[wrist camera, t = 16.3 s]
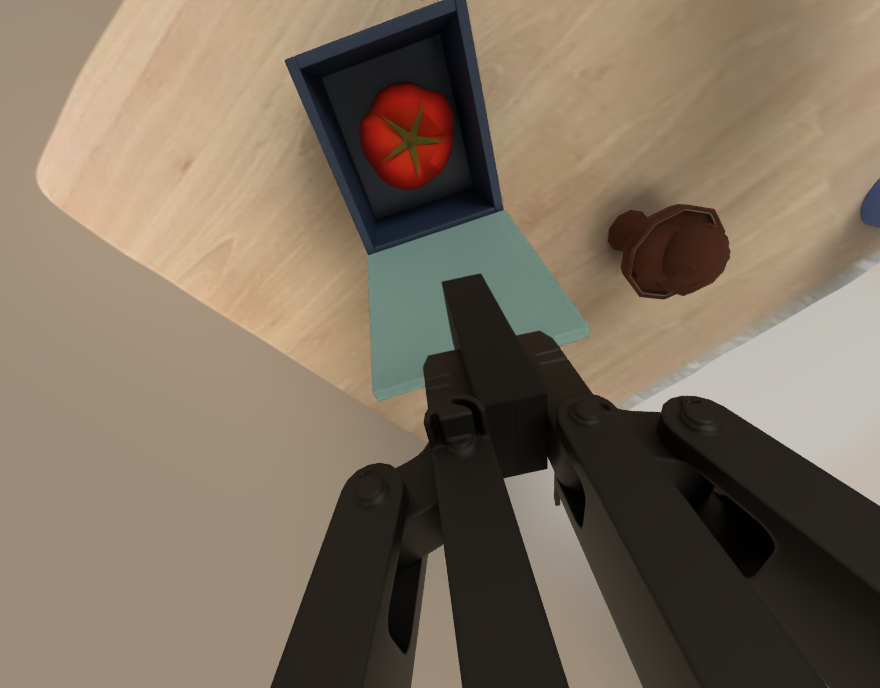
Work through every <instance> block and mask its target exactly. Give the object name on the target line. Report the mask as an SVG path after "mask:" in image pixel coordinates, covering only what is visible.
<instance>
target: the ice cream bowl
mask: <svg viewBox="0 0 880 688" xmlns="http://www.w3.org/2000/svg"><path fill="white" fill-rule="evenodd" d="M608 242H609V243H610V245H611V246H612V248H613V249H614V250H620V251H623V256H622V263H621V270H622V274H623V275H624V276H625V278H626V279H627V280H628V282H629V283H630V285H631V286H632V287H633V289H634V290H635V291H636V293H637V294H638V295H639V297H645V298H655V299H666V298H669V297H671V296H673V295H675V294H678V295H682V296H684V295H687V294H690V293H693V292H695V291H697V290H699V289H701V288H703V287H705V286H707V285H709V284H711V283H713V282H714V281H715V280H716V279H717V278H718V277H719V276H720V275H721V273H722V272H723V271H724V269H725V266H726V264H727V261H728V260H729V259H730V249H729V247H728V246H729V241H728V237H727V236H726V235H725V230H724V228H723V226H722V224H721V221H720V219H719V217H718V215H717V213H716V211H715V209H711V208H705V207H699V206H692V205H684V204H676V205H673V206H669V207H667V208H665V209H663V210H661V211H659V212H657V213H655V214H653V215H651V216H649V217H647V218H646V216H645V214H644V213H643V212H641V211H634V210H630V211H628V212H626V213H624V214H622V215H620V216H618V218H617V219H616V220H615V222H614V223H613V225H612V226H611V227H610V229H609V237H608Z"/></svg>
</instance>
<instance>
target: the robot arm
mask: <svg viewBox="0 0 880 688" xmlns="http://www.w3.org/2000/svg"><path fill="white" fill-rule="evenodd" d="M441 283H442V288H443V293H444V299H445V304H446V309H447V315H448V320H449V325H450V331H451V336H452V341H453V345H454V349H455V350H451V351H447V352H442V353H437V354H433V355H428V356H427V359H426V361H425V363H424V365H423V373H424V380H425V388H426V396H427V403H428V410H427V411H426V413H425V417H424V426H425V429H426V433H427V436H428V439H429V442H428V444H427V446H426V447H425V449H424V450H423V451H422V452H421V453H420V454H419V455H418V456H416V457H415V458H413V459H412V460H410V461H408V462H407V463H405V464H403V465H401V466H399V467H397V468H394V467H393V466H391V465H388V464H383V463H376V464H371V465H367V466H366V467H364V468H362V469H360V470H358V471H356V473H354V474H353V475H352V476H351V477H350V478H349V479H348V480H347V482H346V484H345V486H344V487H343V489H342V491H341V494H340V497H339V499H338V502H337V505H336V508H335V510H334V513H333V516H332V519H331V521H330V524H329V527H328V530H327V533H326V535H325V539H324V541H323V544H322V546H321V549H320V552H319V555H318V557H317V560H316V563H315V566H314V568H313V571H312V574H311V577H310V579H309V582H308V585H307V588H306V591H305V593H304V596H303V599H302V602H301V604H300V607H299V610H298V613H297V615H296V618H295V621H294V624H293V626H292V630H291V632H290V635H289V638H288V641H287V643H286V646H285V649H284V651H283V654H282V657H281V660H280V662H279V666H278V668H277V671H276V673H275V676H274V680H273V682H272V685H271V687H270V688H411V681H412V674H413V667H414V659H415V651H416V643H417V636H418V627H419V620H420V612H421V605H422V596H423V589H424V581H425V574H426V565H427V558H428V554H429V553H430V552H432V551H434V550H435V549H437V548H438V547H440V546H442V545H443V544H444V551H445V558H446V566H447V574H448V581H449V588H450V596H451V604H452V612H453V619H454V627H455V635H456V642H457V650H458V658H459V665H460V673H461V681H462V688H569V686H568V683H567V679H566V676H565V673H564V670H563V667H562V664H561V660H560V657H559V654H558V651H557V648H556V644H555V641H554V638H553V635H552V632H551V629H550V626H549V622H548V619H547V616H546V613H545V610H544V607H543V603H542V600H541V597H540V594H539V590H538V587H537V584H536V581H535V578H534V574H533V572H532V568H531V565H530V562H529V559H528V555H527V552H526V549H525V546H524V543H523V539H522V536H521V533H520V530H519V527H518V524H517V520H516V517H515V514H514V511H513V508H512V504H511V502H510V498H509V495H508V492H507V489H506V486H505V482H504V479H503V478H507V477H511V476H516V475H521V474H525V473H530V472H535V471H539V470H544V469H547V456H548V459H549V460H550V463H551V465H552V467H553V469H554V472H555V475H554V500H555V505H556V506H559V505H560V499H561V501H562V503H563V506H564V508H565V510H566V513H567V515H568V517H569V519H570V522H571V524H572V526H573V528H574V531H575V533H576V535H577V538H578V540H579V542H580V545H581V547H582V549H583V551H584V554H585V556H586V558H587V561H588V563H589V565H590V567H591V570H592V572H593V574H594V577H595V579H596V581H597V583H598V586H599V588H600V590H601V592H602V595H603V597H604V600H605V602H606V604H607V606H608V609H609V611H610V613H611V615H612V618H613V620H614V622H615V625H616V627H617V629H618V632H619V634H620V636H621V638H622V641H623V643H624V645H625V648H626V650H627V652H628V654H629V657H630V659H631V661H632V664H633V666H634V668H635V670H636V673H637V675H638V677H639V680H640V682H641V684H642V686H643V688H828V687H829V688H880V506H879V505H877V504H876V503H874V502H872V501H871V500H869V499H868V498H866V497H865V496H863V495H862V494H860V493H859V492H857V491H855V490H854V489H852V488H851V487H849V486H848V485H846V484H844V483H843V482H841V481H839V480H838V479H837V478H835V477H833V476H832V475H830V474H829V473H827V472H826V471H824V470H822V469H821V468H819V467H818V466H816V465H815V464H813V463H811V462H810V461H808V460H807V459H805V458H803V457H802V456H801V455H799V454H797V453H796V452H794V451H793V450H791V449H790V448H788V447H786V446H785V445H783V444H782V443H780V442H779V441H777V440H775V439H774V438H772V437H771V436H769V435H767V434H766V433H764V432H763V431H761V430H760V429H758V428H757V427H755V426H753V425H752V424H750V423H748V422H747V421H746V420H744V419H742V418H741V417H739V416H738V415H736V414H735V413H733V412H732V411H730V410H728V409H727V408H725V407H724V406H722V405H720V404H717V403H715V402H713V401H711V400H709V399H705V398H701V397H697V396H679V397H675V398H671V399H670V400H668V401H667V402H666V403H665V404H663V407H662V411H661V412H642V411H628V410H621V409H618V408H616V407H615V406H614V405H613V404H612V403H611V402H610V401H609V400H607V399H605V398H602V397H600V396H598V395H593V393H592V392H591V391H590V390H589V388H588V387H587V385H586V384H585V382H584V381H583V380H582V378H581V377H580V375H579V374H578V373H577V371H576V370H575V368H574V367H573V366H572V364H571V363H570V361H569V360H567V357H566V356H565V354H564V353H563V352H562V351H561V349H560V347H559V346H558V345H557V343H556V342H555V340H554V339H553V338H552V337H550V336H549V335H547V334H545V333H543V332H542V331H540V330H539V331H534V332H530V333H525V334H520V335H515V333H514V331H513V329H512V327H511V326H510V324H509V322H508V320H507V319H506V317H505V315H504V313H503V311H502V310H501V308H500V306H499V304H498V302H497V301H496V299H495V297H494V295H493V294H492V292H491V290H490V288H489V286H488V285H487V283H486V281H485V279H484V277H483V276H482V274H481V273H479V274H475V275H470V276H465V277H461V278H456V279H451V280H447V281H442V282H441ZM826 685H827V686H828V687H827V686H826Z"/></svg>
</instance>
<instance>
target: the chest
mask: <svg viewBox="0 0 880 688" xmlns="http://www.w3.org/2000/svg"><path fill="white" fill-rule="evenodd" d="M285 63H286V66H287V68H288V70H289V72H290V75H291V77H292V79H293V82H294V84H295V86H296V89H297V91H298V93H299V96H300V98H301V100H302V103H303V105H304V107H305V110H306V112H307V114H308V117H309V119H310V121H311V124H312V126H313V128H314V130H315V133H316V135H317V137H318V140H319V142H320V144H321V147H322V149H323V151H324V154H325V156H326V158H327V161H328V163H329V165H330V168H331V170H332V172H333V175H334V177H335V179H336V182H337V184H338V186H339V188H340V191H341V193H342V195H343V198H344V200H345V202H346V205H347V207H348V209H349V212H350V214H351V216H352V219H353V221H354V223H355V226H356V228H357V230H358V233H359V235H360V237H361V240H362V242H363V244H364V246H365V249H366V251H367V253H368V255H371V254H374V253H377V252H380V251H383V250H386V249H389V248H392V247H395V246H398V245H401V244H404V243H407V242H410V241H413V240H416V239H419V238H422V237H425V236H428V235H431V234H434V233H437V232H440V231H443V230H446V229H449V228H452V227H455V226H458V225H461V224H464V223H467V222H470V221H473V220H476V219H479V218H482V217H485V216H488V215H491V214H494V213H497V212H500V211H503V210H504V209H503V203H502V198H501V192H500V187H499V181H498V175H497V170H496V164H495V159H494V153H493V148H492V142H491V136H490V131H489V125H488V120H487V114H486V109H485V103H484V97H483V92H482V86H481V81H480V75H479V70H478V64H477V58H476V53H475V47H474V42H473V36H472V31H471V25H470V19H469V14H468V8H467V3H466V0H442V1H439V2H437V3H434V4H431V5H429V6H426V7H423V8H421V9H418V10H415V11H413V12H410V13H407V14H405V15H402V16H400V17H397V18H394V19H392V20H389V21H386V22H384V23H381V24H378V25H376V26H373V27H370V28H368V29H365V30H362V31H360V32H357V33H354V34H352V35H349V36H347V37H344V38H341V39H339V40H336V41H333V42H331V43H328V44H325V45H323V46H320V47H317V48H315V49H312V50H309V51H307V52H304V53H302V54H299V55H296V56H295V57H291V58H288V59H286V60H285ZM404 82H412V83H414V84H416V85H417V86H419V87H421V88H423V89H427V90H432V91H438V92H442V94H443V95H444V97H445V98H446V100H447V101H448V103H449V104H450V106H451V108H452V112H453V117H454V125H453V131H452V134H453V147H452V150H451V154H450V158H449V160H448V162H447V164H446V166H445V168H444V169H443V171H442V173H440V174H438V175H437V176H436V177H435V178H434V179H433V180H431V181H430V182H429V183H427V184H426V185H424V186H423V187H421V188H420V189H415V190H407V191H405V190H401V189H398V188H394V187H392V186H390V185H389V184H387V183H386V182H384V181H382V180H381V179H380V177H379V176H378V174H377V173H376V171H375V170H374V168H373V167H372V165H371V164H370V162H369V161H368V160H367V158H366V157H365V155H364V154H363V151H362V146H361V142H360V138H359V135H360V121H361V119H362V118H363V117H364V116H365V115H366V114H367V113H368V111H369V110H370V108H371V106H372V104H373V101H374V99H375V97H376V95H377V93H378V92H380V91H381V90H383V89H385V88H387V87H388V86H390V85H392V84H397V83H404Z"/></svg>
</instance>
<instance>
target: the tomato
mask: <svg viewBox="0 0 880 688" xmlns="http://www.w3.org/2000/svg"><path fill="white" fill-rule="evenodd" d="M453 125H454V117H453V112H452V108H451V106H450V104H449V103H448V101H447V100H446V98H445V97H444V95H443V94H442V92H438V91H432V90H427V89H423V88H421V87H419V86H417V85H416V84H414V83H412V82H404V83H397V84H392V85H390V86H388V87H387V88H385V89H383V90H381V91H380V92H378V93H377V95H376V97H375V99H374V101H373V104H372V106H371V108H370V110H369V111H368V113H367V114H366V115H365V116H364V117H363V118H362V119H361V121H360V135H359V138H360V142H361V146H362V151H363V154H364V155H365V157H366V158H367V160H368V161H369V162H370V164H371V165H372V167H373V168H374V170H375V171H376V173H377V174H378V176H379V177H380V179H381V180H382V181H384V182H386V183H387V184H389V185H390V186H392V187H394V188H398V189H401V190H405V191H407V190H415V189H420V188H421V187H423V186H424V185H426V184H427V183H429V182H430V181H431V180H433V179H434V178H435V177H436V176H437V175H438V174H440V173H442V171H443V169H444V168H445V166H446V164H447V162H448V160H449V158H450V154H451V150H452V147H453V134H452V131H453Z"/></svg>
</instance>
